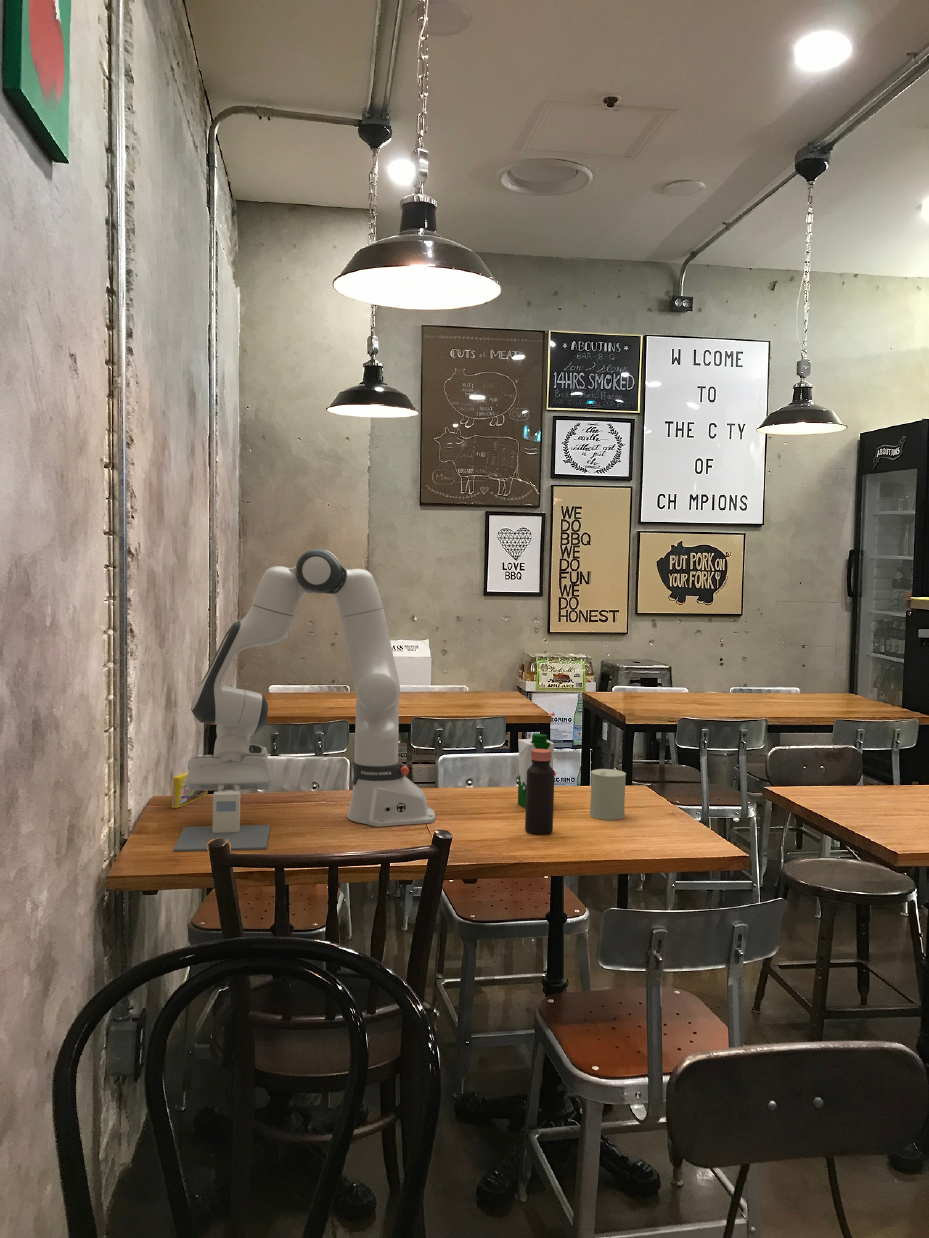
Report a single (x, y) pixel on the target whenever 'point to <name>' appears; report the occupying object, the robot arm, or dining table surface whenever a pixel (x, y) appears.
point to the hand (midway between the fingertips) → (227, 803)
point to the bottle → (539, 794)
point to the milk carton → (525, 761)
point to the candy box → (184, 791)
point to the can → (607, 794)
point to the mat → (242, 840)
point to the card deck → (226, 811)
